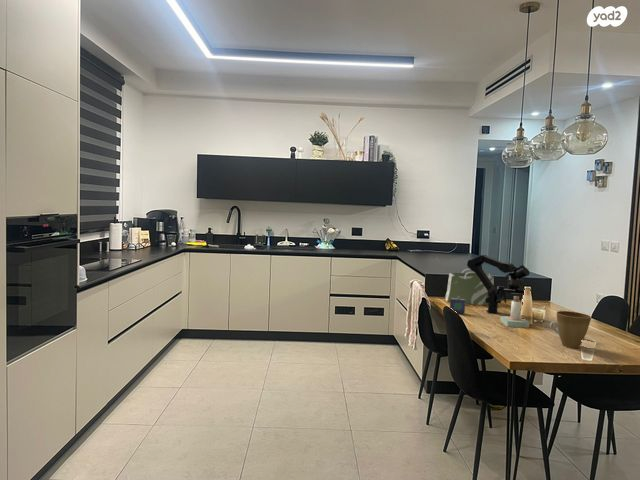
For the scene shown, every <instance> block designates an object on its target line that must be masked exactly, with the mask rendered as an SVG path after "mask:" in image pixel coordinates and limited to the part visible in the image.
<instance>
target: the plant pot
mask: <svg viewBox="0 0 640 480" xmlns="http://www.w3.org/2000/svg"><path fill="white" fill-rule="evenodd" d="M591 319H592V316H591V315H589V314H586V313H583V312H577V311H567V310H558V311H556V323H557V324H558V330H559V335H560V336H559V335H558V336H559V338H560V342H561V345H562V346H563V347H565V346H566V348H569V347H570V348H571V349H579V348H580V347H581V345H582V344H581V340H582V339H585V337H586V335H587V333H588V330H589V327H590V322H591V321H592V320H591ZM570 348H569V349H570Z"/></svg>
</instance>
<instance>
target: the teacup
mask: <svg viewBox="0 0 640 480" xmlns="http://www.w3.org/2000/svg"><path fill="white" fill-rule="evenodd" d="M553 325H555V326H556V329H555V328H554V327H553ZM549 327H550V329H551V330H553V331H554V332H555V333H556V334H557V336H559V337H560V335H559V330H558V324H557V321H551V322H550V324H549Z"/></svg>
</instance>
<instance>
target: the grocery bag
mask: <svg viewBox="0 0 640 480" xmlns="http://www.w3.org/2000/svg"><path fill="white" fill-rule="evenodd" d="M466 271H467V272H466ZM484 273H485V272H484ZM485 274H486V275H487V277H488V278H489V280H490V281H491V283H492V284H493V286H494V287H495V284H494V283H495V281H494V280H495V279H494V276H491V273H487V272H486V273H485ZM446 287H447V288H446V293H445V296H444V299H445V302H447V303H450V299H451V298H454V299H456V298H457V297H458V296H459V298H460V299H465V300H466V301H465V305H474V306H475V305H476V306H477V305H478V306H488V303H486V299H487V298H488V297H489V296H488V291H487V289H486V288H485V286H484V285H483V283H482V282H481V280H480V279H479V277H478V276H477V274H476V273H475V272H473V271H471V270H470V268H464V269H463V270H462V271H461V272H449V274H448V281H447V286H446Z"/></svg>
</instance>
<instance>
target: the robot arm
mask: <svg viewBox="0 0 640 480" xmlns="http://www.w3.org/2000/svg"><path fill="white" fill-rule="evenodd" d="M484 263H485V264H487V265H489V266H493V267H495V268H496V269H498V270H499V271H501V273H504V274H506V273H507V274H506V275H504V278H505V279H506V280H507V288H505V286H504V285H503V286H501V285H497V286H495V285H494V286H493V284H492V283H491V281H490V280H489V278H488V277H487V275H486V274H485V271H484V269H483V264H484ZM466 265H467V267H468V269H470V270H469V271H471V272H475V273H476V274H477V276H478V277H479V279H480V280H481V282H482V283H483V285H484V286H485V288H486V289H487V291H488V296H489V297H488V298H487V299H486V303H488V305H487V309H486V310H485V311H486V312H487V313H488V314H495V315H496V314H498V315H499V314H500V312H498V311H499V304H501V302H502V301H503V302H504V304H507V298H506V293H510V294H517V295H522V296H521V300H522V299H523V295H524V290H525V288H526V287H524V288H523V289H522V290H520V286H523V285H524V278H526V277H528V276H530V271H529V269H528V268H527V267H525V265H520V266H519V267H516V266H515V265H514V264H513V263H511V262H505V261H500V260H498V259H496V258H494V257H491V256H488V255H486V254H481V255H478V256H477V257H475V258H472V259H468V261H467V263H466ZM529 289H530V291H531V292H532V290H531V288H529ZM521 305H522V306H524V303H523V302H522V301H521Z"/></svg>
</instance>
